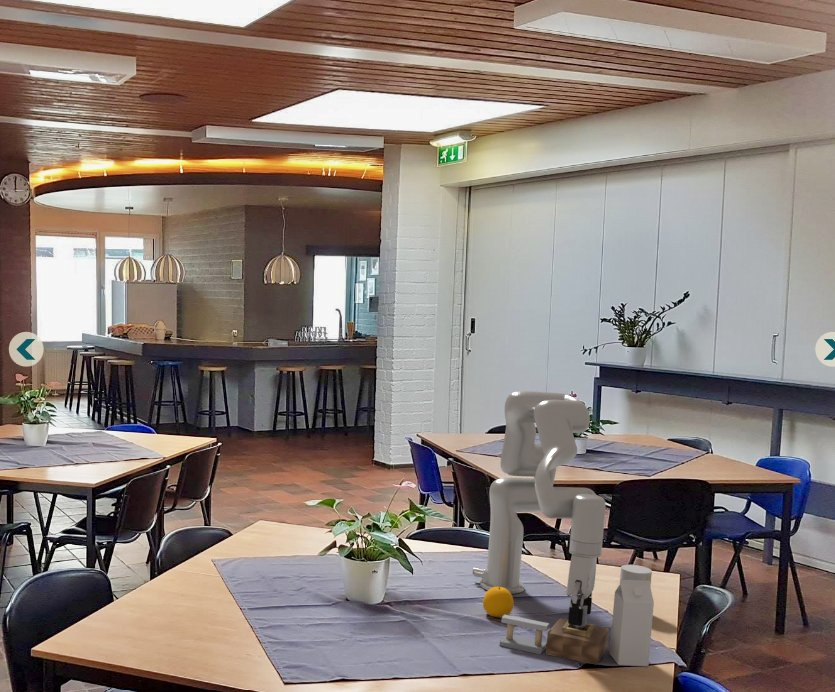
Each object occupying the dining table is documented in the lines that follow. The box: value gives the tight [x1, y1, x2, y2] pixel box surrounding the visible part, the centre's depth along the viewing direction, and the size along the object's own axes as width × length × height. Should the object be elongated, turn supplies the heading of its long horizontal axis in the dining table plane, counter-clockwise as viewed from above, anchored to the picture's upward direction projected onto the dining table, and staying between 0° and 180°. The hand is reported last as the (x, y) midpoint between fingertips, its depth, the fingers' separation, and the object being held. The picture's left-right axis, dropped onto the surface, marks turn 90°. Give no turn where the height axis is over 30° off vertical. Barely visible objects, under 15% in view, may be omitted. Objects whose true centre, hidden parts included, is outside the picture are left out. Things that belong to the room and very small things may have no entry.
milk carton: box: [609, 579, 655, 667], centre depth 220 cm, size 7×7×19 cm
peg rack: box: [498, 614, 550, 655], centre depth 224 cm, size 11×6×6 cm, turn 68°
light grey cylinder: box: [619, 564, 653, 587], centre depth 256 cm, size 8×8×12 cm
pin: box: [573, 604, 588, 631], centre depth 223 cm, size 3×3×10 cm
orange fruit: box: [482, 587, 515, 618], centre depth 245 cm, size 8×8×8 cm
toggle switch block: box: [545, 618, 610, 666], centre depth 223 cm, size 12×12×6 cm
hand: (579, 618), depth 223 cm, fingers open, 9 cm apart
